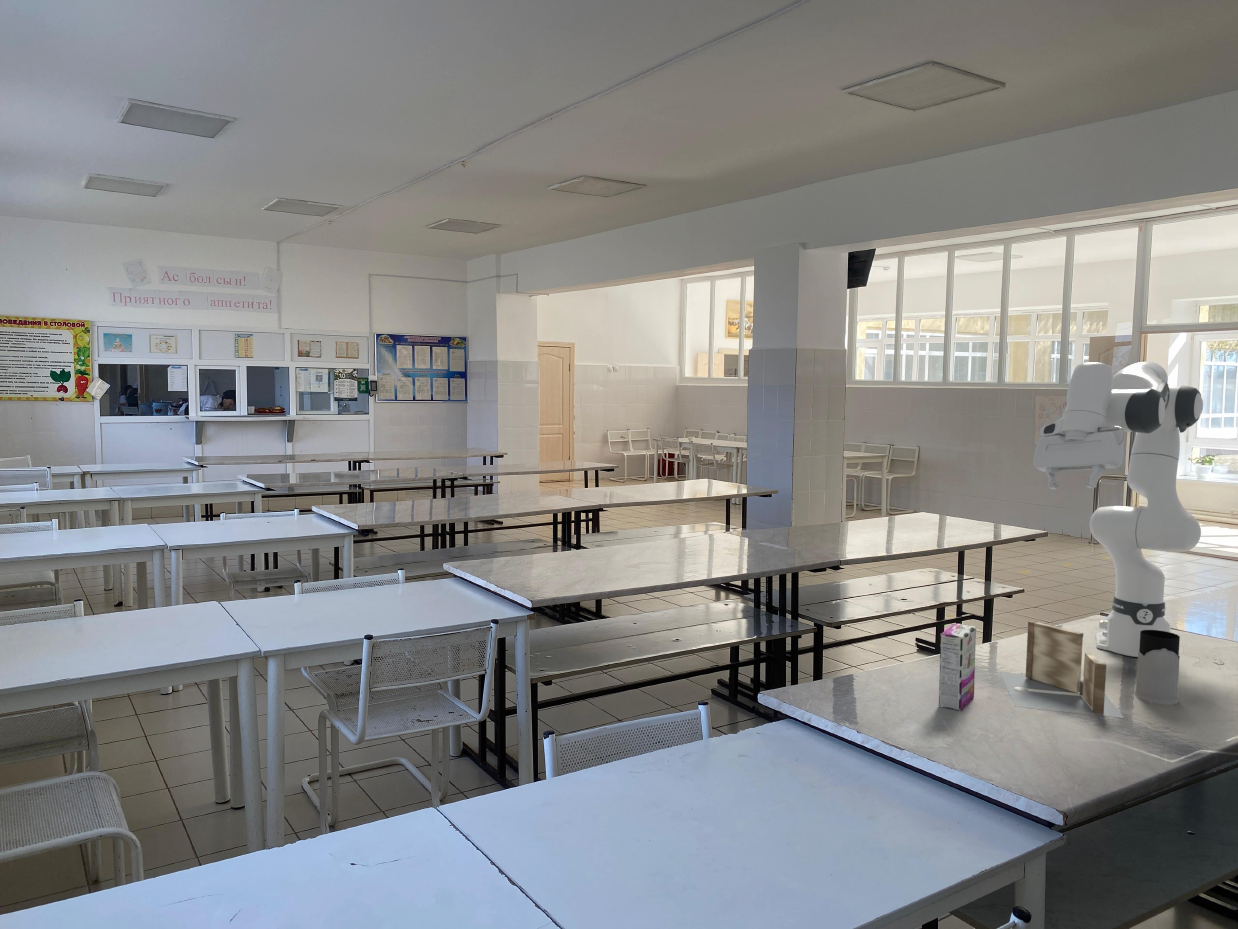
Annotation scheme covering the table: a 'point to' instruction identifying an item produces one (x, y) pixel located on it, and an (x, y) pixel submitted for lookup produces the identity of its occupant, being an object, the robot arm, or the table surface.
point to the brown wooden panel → (1054, 655)
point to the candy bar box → (957, 666)
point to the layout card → (1050, 697)
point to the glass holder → (1158, 667)
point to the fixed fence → (1094, 683)
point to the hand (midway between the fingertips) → (1071, 487)
